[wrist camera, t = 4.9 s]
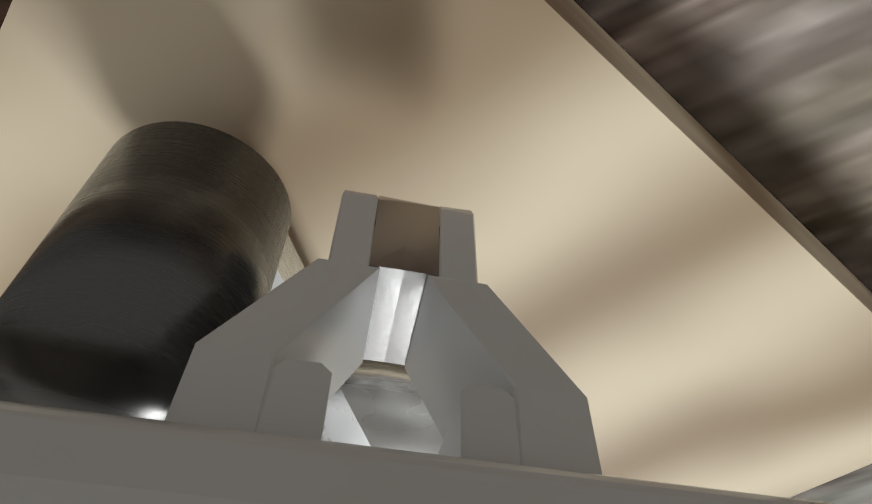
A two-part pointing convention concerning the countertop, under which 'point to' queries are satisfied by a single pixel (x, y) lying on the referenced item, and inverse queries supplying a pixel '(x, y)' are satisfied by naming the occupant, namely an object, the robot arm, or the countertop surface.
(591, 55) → the birch stand
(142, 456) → the robot arm
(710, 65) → the countertop surface
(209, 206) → the silver disc with handle
